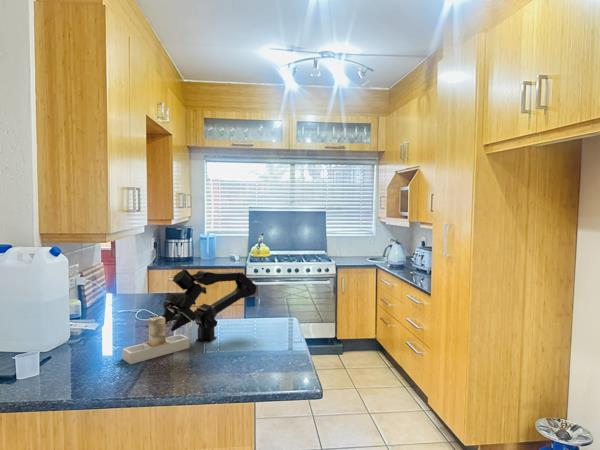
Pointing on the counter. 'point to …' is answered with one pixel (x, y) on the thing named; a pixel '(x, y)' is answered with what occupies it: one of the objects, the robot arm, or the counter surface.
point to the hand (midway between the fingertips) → (166, 328)
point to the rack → (154, 349)
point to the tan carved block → (157, 331)
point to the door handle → (169, 320)
